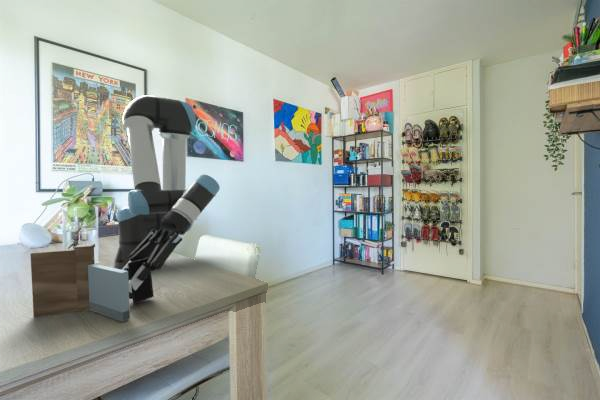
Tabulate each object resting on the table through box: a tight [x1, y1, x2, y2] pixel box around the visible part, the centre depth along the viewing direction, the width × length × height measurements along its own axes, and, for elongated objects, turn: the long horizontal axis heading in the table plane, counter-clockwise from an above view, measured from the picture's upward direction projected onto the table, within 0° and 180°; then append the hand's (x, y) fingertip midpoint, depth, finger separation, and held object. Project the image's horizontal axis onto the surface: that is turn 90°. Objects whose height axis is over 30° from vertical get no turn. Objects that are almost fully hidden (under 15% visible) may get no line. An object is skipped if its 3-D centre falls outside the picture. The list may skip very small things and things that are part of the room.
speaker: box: [125, 258, 155, 305], centre depth 73 cm, size 8×6×10 cm
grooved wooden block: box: [30, 243, 96, 318], centre depth 68 cm, size 3×12×16 cm, turn 113°
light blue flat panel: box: [88, 263, 131, 323], centre depth 65 cm, size 13×2×11 cm, turn 63°
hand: (121, 287), depth 70 cm, fingers closed on speaker, 6 cm apart
